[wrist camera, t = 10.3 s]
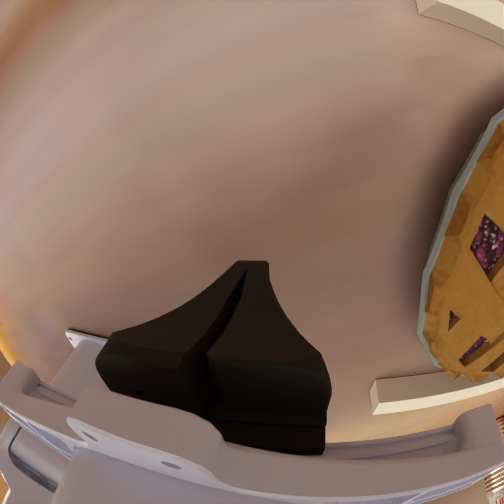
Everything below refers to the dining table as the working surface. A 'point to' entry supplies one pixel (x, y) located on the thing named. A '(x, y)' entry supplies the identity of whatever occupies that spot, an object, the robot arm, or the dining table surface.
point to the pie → (468, 268)
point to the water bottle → (496, 477)
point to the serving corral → (440, 383)
